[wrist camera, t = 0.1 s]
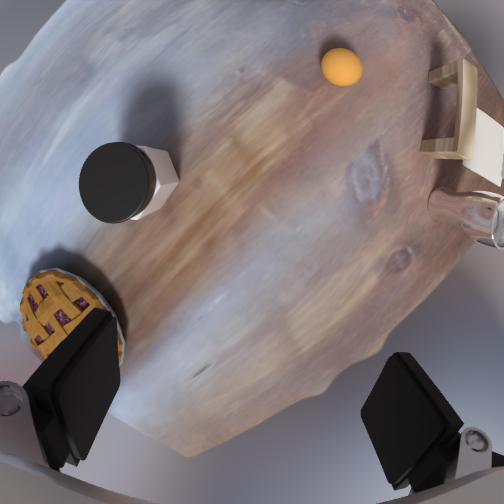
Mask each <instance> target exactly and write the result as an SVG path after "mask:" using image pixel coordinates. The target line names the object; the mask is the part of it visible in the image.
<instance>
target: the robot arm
mask: <svg viewBox="0 0 504 504" xmlns="http://www.w3.org/2000/svg"><path fill="white" fill-rule="evenodd" d="M119 386H120V368H119V355H118V336H117V319H116V317H113V315H112V312H111V311H108V310H104V309H100V308H97V307H95V308H93V309H92V310H91V311H90V312H89V313H88V314H87V315H86V316H85V317H84V319H83V320H82V321H81V322H80V323H79V324H78V325H77V326H76V327H75V328H74V329H73V330H72V332H71V333H70V334H69V335H68V336H67V337H66V338H65V339H64V340H62V341H61V342H60V343H59V344H58V346H57V347H56V348H55V349H54V350H53V351H52V352H51V353H50V355H49V356H48V357H47V358H46V359H45V360H44V362H43V363H42V364H41V365H40V366H39V368H38V369H37V370H36V371H35V372H34V373H33V375H32V376H31V377H30V378H29V379H28V381H27V382H26V383H25V384H24V385H23V387H22V386H20V385H18V384H17V383H14V382H11V381H0V504H158V503H154V502H149V501H146V500H142V499H137V498H134V497H130V496H127V495H123V494H119V493H116V492H113V491H109V490H107V489H104V488H101V487H98V486H95V485H92V484H89V483H87V482H84V481H82V480H79V479H76V478H74V477H71V476H69V475H66V474H63V472H62V469H61V468H62V467H63V466H64V464H65V462H67V463H69V464H72V465H74V466H76V467H77V465H78V463H79V461H80V460H85V459H86V457H87V455H88V453H89V451H90V448H91V446H92V444H93V442H94V440H95V437H96V435H97V433H98V431H99V429H100V426H101V424H102V422H103V420H104V418H105V416H106V413H107V411H108V409H109V407H110V405H111V403H112V401H113V399H114V397H115V395H116V393H117V391H118V389H119ZM361 418H362V420H363V423H364V425H365V427H366V429H367V432H368V434H369V437H370V439H371V441H372V444H373V446H374V449H375V451H376V453H377V456H378V458H379V461H380V463H381V466H382V468H383V470H384V473H385V476H386V478H387V480H388V482H389V483H390V484H392V486H393V489H394V490H399V489H402V488H406V487H407V486H408V485H409V484H410V485H411V487H412V488H411V490H410V493H409V495H408V496H405V497H402V498H398V499H394V500H390V501H386V502H382V503H378V504H504V456H503V455H500V454H498V453H495V452H493V451H492V445H491V440H490V438H489V437H488V436H487V434H486V433H485V432H483V431H482V430H480V429H478V428H474V427H468V428H466V429H464V430H463V432H462V433H461V434H460V433H459V432H458V431H459V430H460V428H461V427H462V426H463V424H464V423H463V422H462V420H461V419H460V417H459V416H458V415H457V413H456V412H455V411H454V409H453V408H452V407H451V405H450V404H449V403H448V401H447V400H446V399H445V397H444V396H443V394H442V393H441V392H440V391H439V389H438V388H437V387H436V385H435V384H434V383H433V381H432V380H431V379H430V378H429V376H428V375H427V374H426V372H425V371H424V370H423V369H422V367H421V366H420V365H419V364H418V362H417V361H416V360H415V359H414V357H413V356H412V355H411V354H410V353H406V352H396V353H394V354H393V355H392V356H390V357H389V358H388V360H387V362H386V364H385V366H384V368H383V370H382V372H381V374H380V376H379V378H378V380H377V382H376V384H375V385H374V387H373V389H372V391H371V393H370V395H369V396H368V398H367V400H366V402H365V404H364V406H363V407H362V409H361Z"/></svg>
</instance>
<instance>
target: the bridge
mask: <svg viewBox="0 0 504 504" xmlns="http://www.w3.org/2000/svg"><path fill="white" fill-rule="evenodd" d="M428 82H429V83H431V84H433V85H435V86H437V87H438V88H440V89H446V88H449V87H452V86H456V85H458V89H457V108H456V120H455V130H454V138H440V139H428V140H422V143H421V149H420V152H421V153H423V154H425V155H428V156H430V157H432V158H434V159H465V160H472V155H473V147H474V138H475V127H476V113H477V68H476V67H474V66H473V65H472V64H470V63H469V62H467V61H466V60H465V59H463V58H462V59H460V60H457V61H454V62H452V63H449V64H447V65H444V66H442V67H439V68H437V69H435V70H432V71H430V72H429V79H428Z"/></svg>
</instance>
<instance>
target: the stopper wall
mask: <svg viewBox="0 0 504 504" xmlns="http://www.w3.org/2000/svg"><path fill="white" fill-rule="evenodd" d="M501 177H502V178H504V153H503V163H502V171H501Z"/></svg>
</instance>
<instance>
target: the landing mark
mask: <svg viewBox="0 0 504 504" xmlns="http://www.w3.org/2000/svg"><path fill="white" fill-rule="evenodd" d="M503 153H504V127H502V126H501V125H500V124H499V123H497V122H496V121H495V120H493V119H492V118H491V117H489V116H488V115H487V114H485V113H484V112H483V111H481V110H480V109H478V108H477V113H476V127H475V138H474V147H473V155H472V160H465V159H463V162H462V165H463V166H465V167H467V168H469V169H471V170H472V171H474V172H476V173H478V174H479V175H481V176H483V177H485V178H486V179H488V180H490V181H491V182H493V183H494V184H496V185H498V186H499V187H501V181H502V177H501V171H502V163H503Z"/></svg>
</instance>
